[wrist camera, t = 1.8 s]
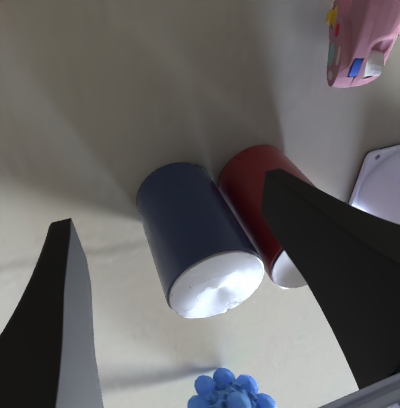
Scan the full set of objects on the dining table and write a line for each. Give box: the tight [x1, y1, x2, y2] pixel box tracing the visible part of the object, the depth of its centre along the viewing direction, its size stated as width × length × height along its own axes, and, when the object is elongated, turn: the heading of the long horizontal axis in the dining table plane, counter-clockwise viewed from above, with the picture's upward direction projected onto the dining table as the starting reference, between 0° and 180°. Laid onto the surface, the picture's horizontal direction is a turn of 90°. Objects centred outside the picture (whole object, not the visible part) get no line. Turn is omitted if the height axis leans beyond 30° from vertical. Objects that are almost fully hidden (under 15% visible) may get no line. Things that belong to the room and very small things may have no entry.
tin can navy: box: [136, 163, 264, 319], centre depth 23 cm, size 6×6×9 cm
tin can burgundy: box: [218, 145, 315, 288], centre depth 24 cm, size 6×6×9 cm
